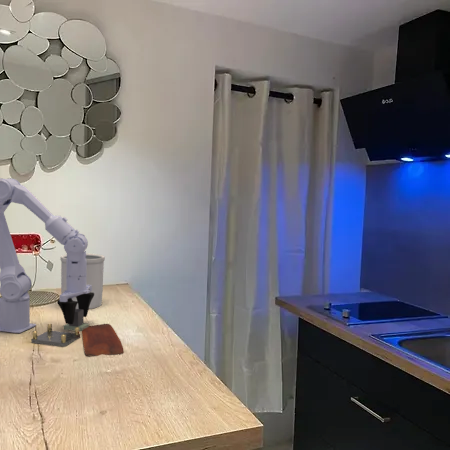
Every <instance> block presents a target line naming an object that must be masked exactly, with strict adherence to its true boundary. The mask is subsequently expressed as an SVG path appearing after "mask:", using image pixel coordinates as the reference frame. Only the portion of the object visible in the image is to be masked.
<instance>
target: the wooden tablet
mask: <svg viewBox="0 0 450 450" xmlns="http://www.w3.org/2000/svg"><path fill="white" fill-rule="evenodd" d="M80 333H81V335H82V345H83V350H84V355H85V356H86V357H87V358H90V357H98V356H102V355H104V356H116V355H117V356H118V354H119V355H122V354H124V346H123V343H122V341H121V339H120V337H119V336H118V334H117V332H116V330H115V329H114V327H113V326H112V325H111V324H110V323H103V324H102V323H101V324H94V325H89V327H87V328H85V329H84V330H82V331H80Z"/></svg>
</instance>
